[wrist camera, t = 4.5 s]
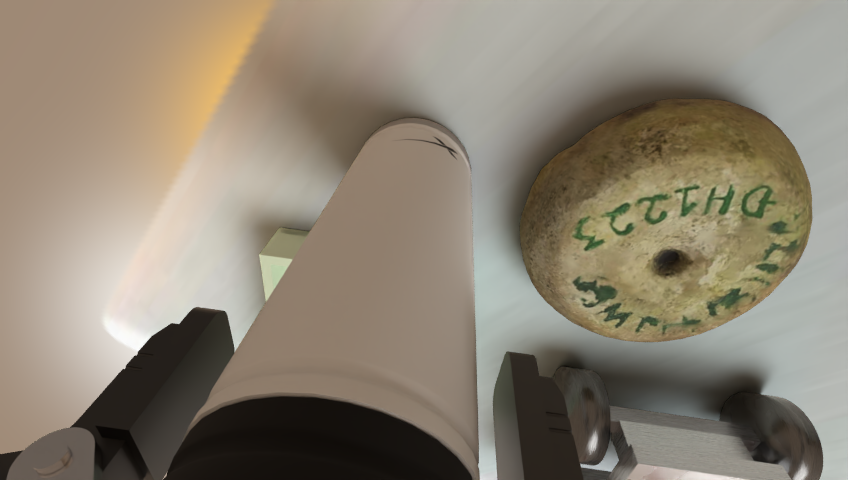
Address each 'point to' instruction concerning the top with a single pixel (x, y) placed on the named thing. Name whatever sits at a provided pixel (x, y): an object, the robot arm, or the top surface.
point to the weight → (667, 220)
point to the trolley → (690, 437)
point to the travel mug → (360, 335)
